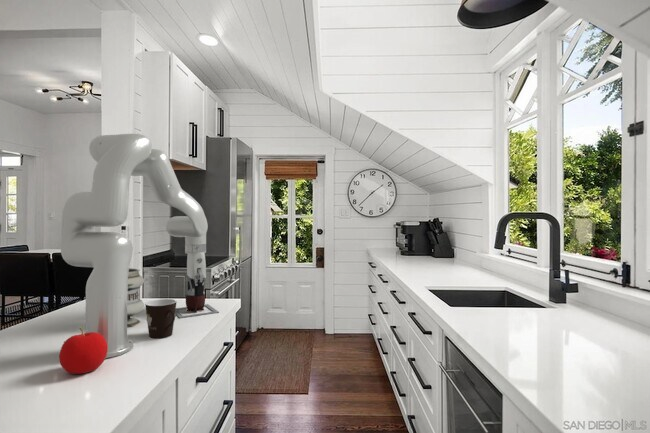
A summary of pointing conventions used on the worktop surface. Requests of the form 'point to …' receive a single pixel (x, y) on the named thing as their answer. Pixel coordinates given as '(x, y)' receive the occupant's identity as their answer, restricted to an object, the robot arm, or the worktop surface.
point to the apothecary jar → (134, 296)
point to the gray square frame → (214, 311)
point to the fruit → (83, 352)
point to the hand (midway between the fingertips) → (195, 293)
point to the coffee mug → (160, 317)
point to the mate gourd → (194, 300)
